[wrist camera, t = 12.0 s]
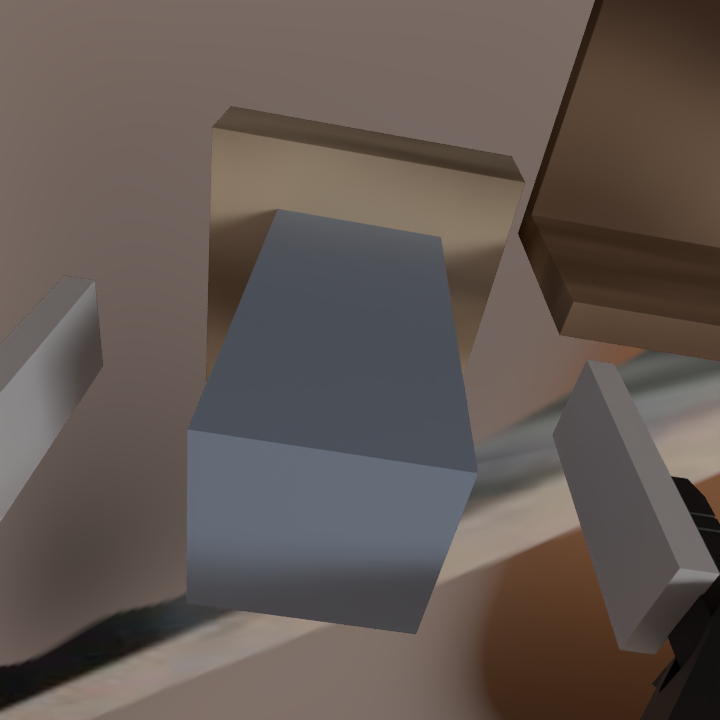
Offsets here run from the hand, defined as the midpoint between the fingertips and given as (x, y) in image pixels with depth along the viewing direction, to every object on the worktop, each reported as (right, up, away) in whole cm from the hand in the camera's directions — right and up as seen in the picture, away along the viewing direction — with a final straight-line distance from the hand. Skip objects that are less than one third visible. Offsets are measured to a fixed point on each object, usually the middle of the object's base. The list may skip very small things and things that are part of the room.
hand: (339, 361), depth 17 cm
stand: (0, +4, +5) cm, 7 cm away
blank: (0, +2, +3) cm, 4 cm away
